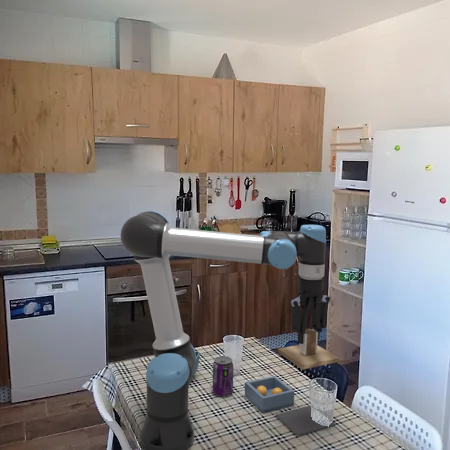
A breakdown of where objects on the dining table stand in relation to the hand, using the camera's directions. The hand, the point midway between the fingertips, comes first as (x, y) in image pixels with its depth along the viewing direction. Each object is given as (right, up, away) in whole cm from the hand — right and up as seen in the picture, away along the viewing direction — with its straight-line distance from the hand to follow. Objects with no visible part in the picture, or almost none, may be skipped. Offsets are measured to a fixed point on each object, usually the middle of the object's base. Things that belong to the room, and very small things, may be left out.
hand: (307, 352), depth 137 cm
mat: (0, -22, +3) cm, 22 cm away
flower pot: (-40, -18, +29) cm, 53 cm away
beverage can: (-26, -20, +19) cm, 38 cm away
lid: (0, -2, 0) cm, 2 cm away
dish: (-10, -20, +15) cm, 27 cm away
